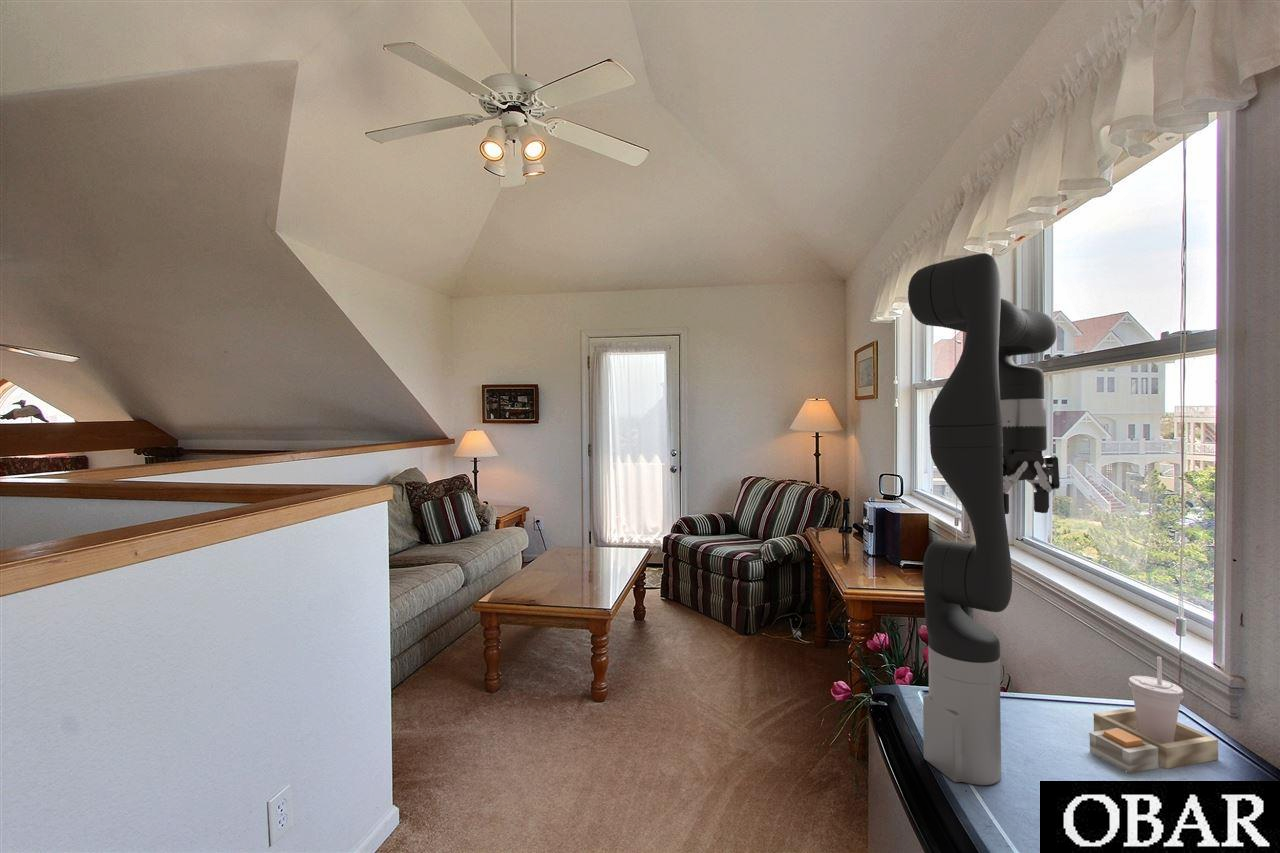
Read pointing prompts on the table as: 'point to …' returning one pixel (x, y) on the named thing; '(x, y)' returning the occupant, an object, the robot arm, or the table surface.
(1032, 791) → the table surface
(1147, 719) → the smoothie
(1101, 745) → the station
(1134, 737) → the button
